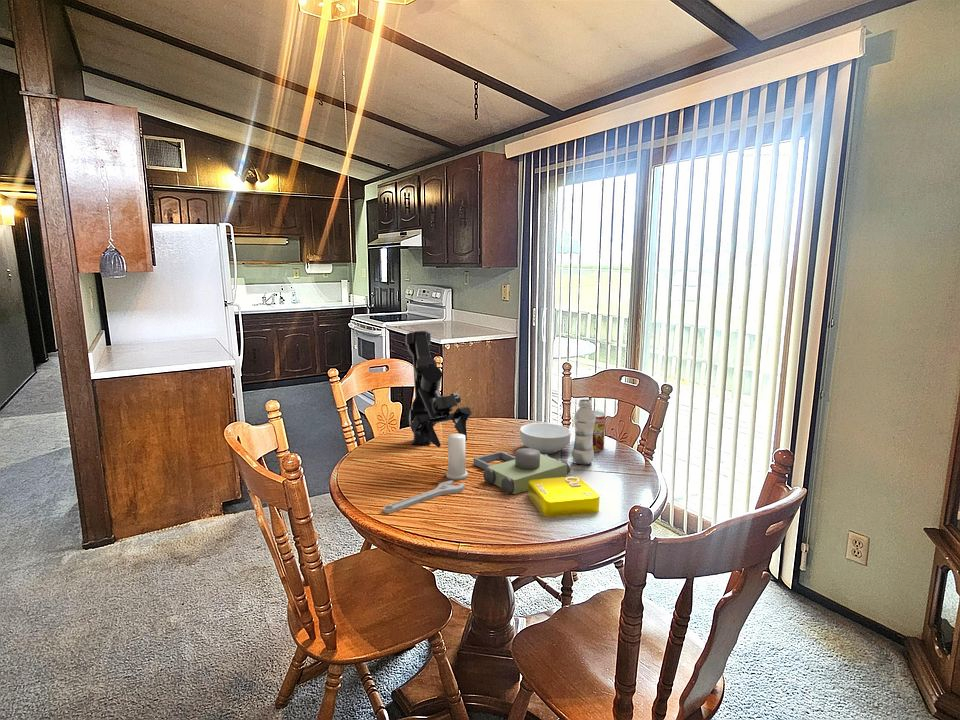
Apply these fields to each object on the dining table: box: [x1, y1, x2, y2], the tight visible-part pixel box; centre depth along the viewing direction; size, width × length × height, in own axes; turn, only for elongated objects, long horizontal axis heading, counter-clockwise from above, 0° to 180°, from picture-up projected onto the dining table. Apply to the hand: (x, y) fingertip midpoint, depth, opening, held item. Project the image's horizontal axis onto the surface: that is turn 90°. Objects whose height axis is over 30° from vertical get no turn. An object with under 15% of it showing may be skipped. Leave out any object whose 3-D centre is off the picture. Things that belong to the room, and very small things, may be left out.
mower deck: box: [473, 447, 571, 495], centre depth 160 cm, size 24×22×8 cm
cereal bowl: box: [519, 422, 571, 454], centre depth 181 cm, size 17×17×7 cm
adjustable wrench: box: [382, 480, 466, 514], centre depth 143 cm, size 25×6×2 cm, turn 128°
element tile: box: [527, 475, 600, 518], centre depth 140 cm, size 15×15×5 cm
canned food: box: [592, 410, 606, 453], centre depth 182 cm, size 8×8×12 cm
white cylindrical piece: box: [445, 433, 469, 481], centre depth 157 cm, size 6×6×12 cm
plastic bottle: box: [571, 398, 596, 466], centre depth 167 cm, size 6×7×20 cm
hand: (453, 443), depth 158 cm, fingers open, 9 cm apart
